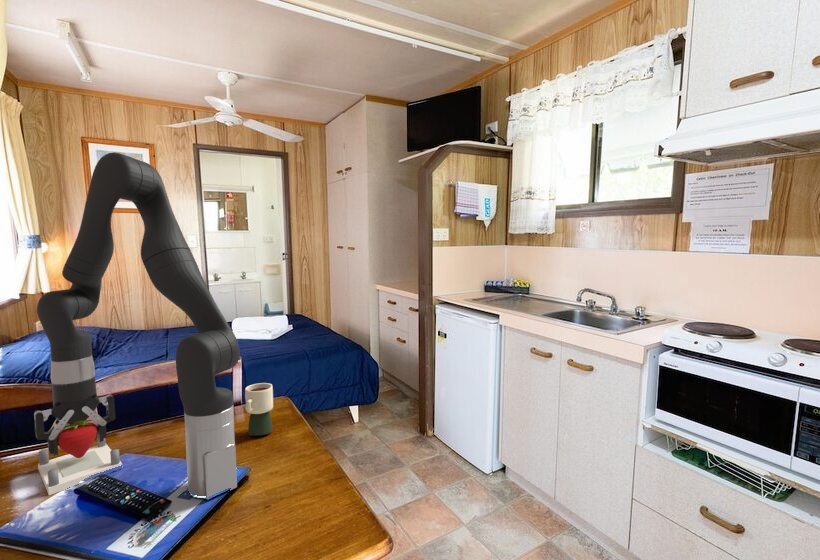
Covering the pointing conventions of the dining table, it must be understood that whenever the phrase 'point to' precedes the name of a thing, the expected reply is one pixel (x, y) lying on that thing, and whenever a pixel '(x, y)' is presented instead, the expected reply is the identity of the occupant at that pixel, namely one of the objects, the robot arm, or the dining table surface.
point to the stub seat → (76, 466)
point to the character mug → (259, 408)
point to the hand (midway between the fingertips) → (79, 447)
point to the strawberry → (77, 438)
